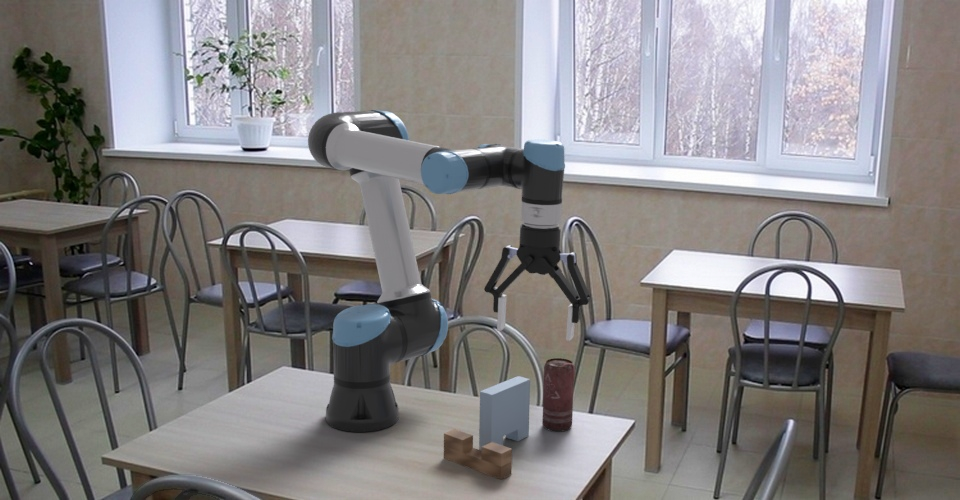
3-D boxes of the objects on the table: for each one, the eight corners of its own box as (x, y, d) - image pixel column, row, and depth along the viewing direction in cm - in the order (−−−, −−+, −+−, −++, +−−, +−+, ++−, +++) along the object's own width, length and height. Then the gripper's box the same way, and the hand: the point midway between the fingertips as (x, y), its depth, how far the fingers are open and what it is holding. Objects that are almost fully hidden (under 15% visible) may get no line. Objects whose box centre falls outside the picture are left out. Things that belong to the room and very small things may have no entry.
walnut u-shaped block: (443, 458, 187) (443, 433, 186) (454, 453, 189) (454, 428, 188) (501, 479, 178) (501, 453, 177) (511, 474, 180) (511, 448, 179)
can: (571, 433, 199) (573, 367, 196) (540, 430, 201) (542, 365, 198) (574, 422, 205) (577, 358, 202) (544, 419, 206) (546, 356, 204)
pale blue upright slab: (479, 449, 191) (480, 391, 188) (516, 432, 200) (518, 375, 197) (491, 454, 189) (492, 395, 186) (528, 435, 198) (530, 379, 195)
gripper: (470, 221, 182) (466, 330, 187) (602, 235, 174) (595, 348, 179) (483, 214, 189) (479, 319, 194) (611, 227, 181) (603, 336, 186)
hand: (535, 333), depth 187 cm, fingers open, 13 cm apart
